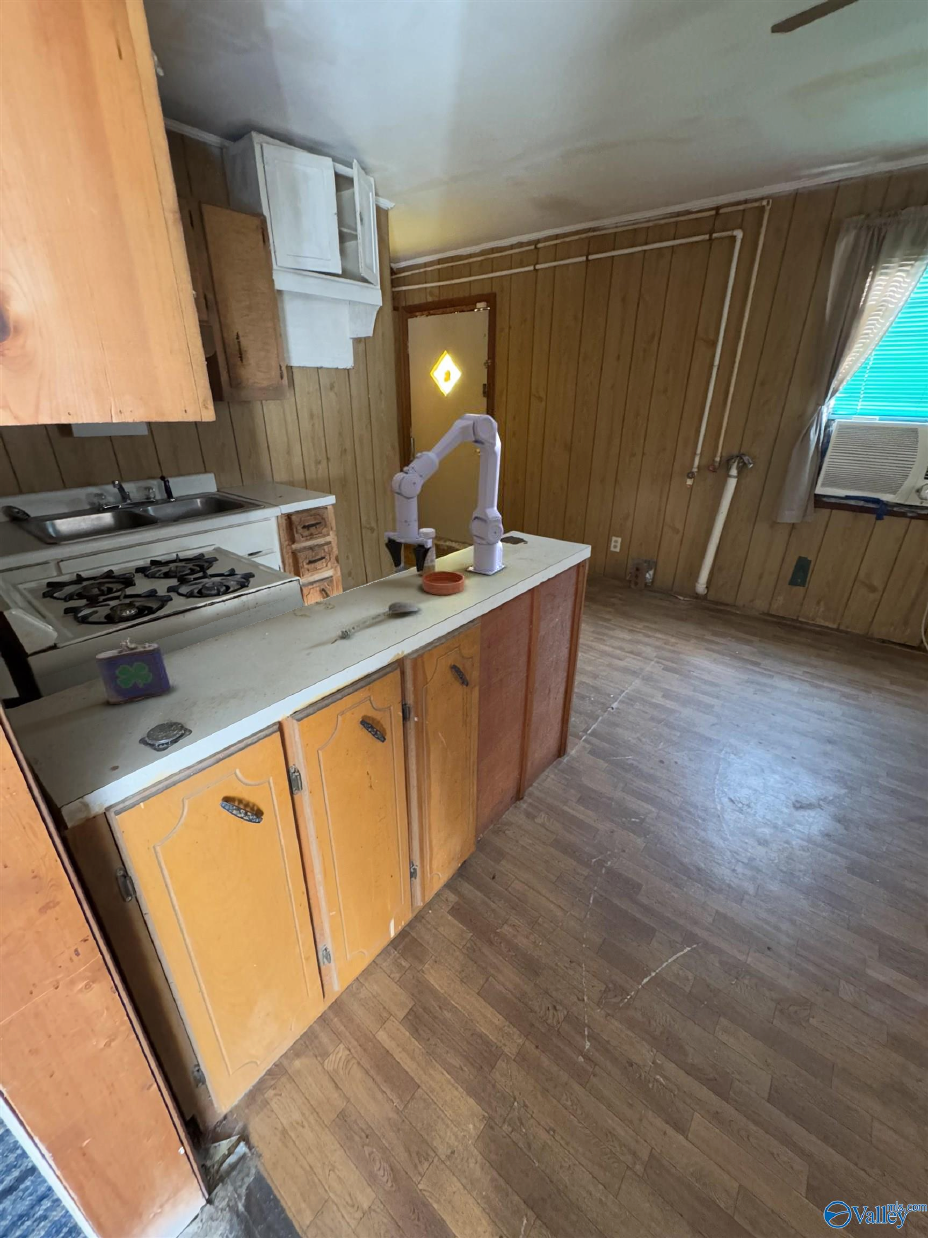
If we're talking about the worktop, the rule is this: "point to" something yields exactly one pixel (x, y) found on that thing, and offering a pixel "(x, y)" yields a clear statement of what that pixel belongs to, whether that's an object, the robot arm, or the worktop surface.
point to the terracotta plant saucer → (443, 582)
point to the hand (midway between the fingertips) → (408, 568)
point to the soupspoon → (392, 608)
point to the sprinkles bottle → (430, 559)
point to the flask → (133, 672)
